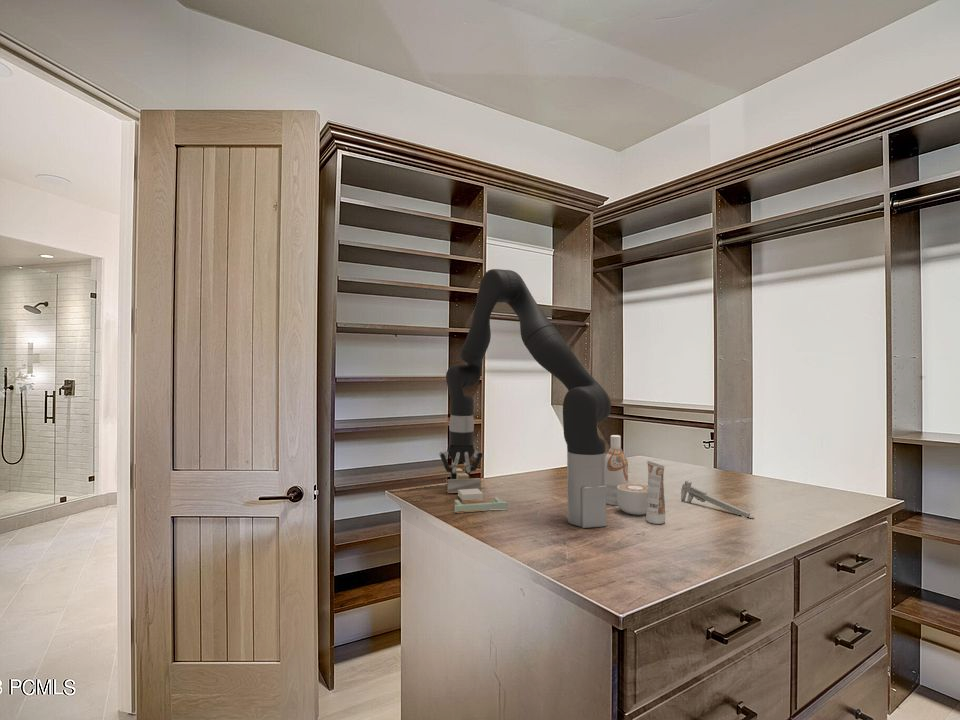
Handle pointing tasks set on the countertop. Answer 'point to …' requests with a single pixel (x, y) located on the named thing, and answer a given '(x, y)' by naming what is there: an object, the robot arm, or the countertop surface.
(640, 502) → the cosmetic set
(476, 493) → the tile
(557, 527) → the countertop surface
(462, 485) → the grey rectangular block
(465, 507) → the tile stop
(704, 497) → the caliper
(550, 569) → the countertop surface
